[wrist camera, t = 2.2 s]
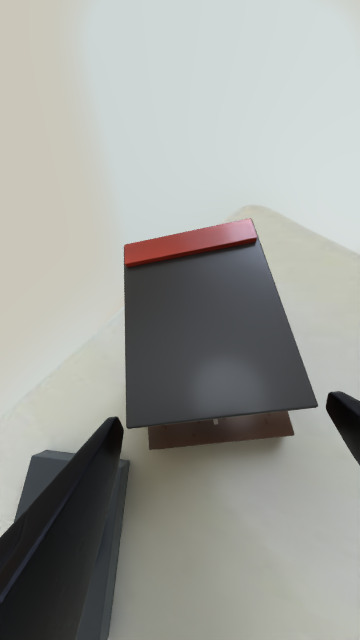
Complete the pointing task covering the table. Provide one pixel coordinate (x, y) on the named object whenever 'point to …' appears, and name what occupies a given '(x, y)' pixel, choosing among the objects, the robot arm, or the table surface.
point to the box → (207, 330)
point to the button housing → (104, 572)
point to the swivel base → (220, 430)
